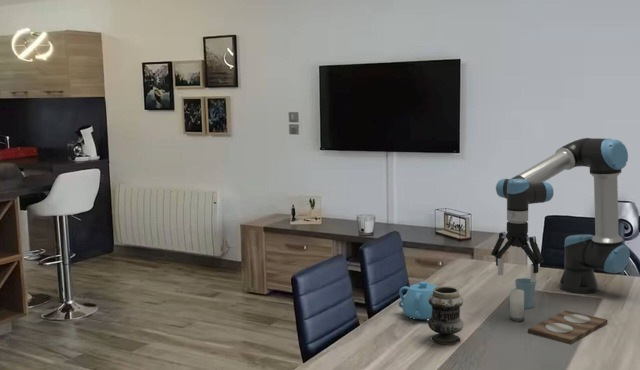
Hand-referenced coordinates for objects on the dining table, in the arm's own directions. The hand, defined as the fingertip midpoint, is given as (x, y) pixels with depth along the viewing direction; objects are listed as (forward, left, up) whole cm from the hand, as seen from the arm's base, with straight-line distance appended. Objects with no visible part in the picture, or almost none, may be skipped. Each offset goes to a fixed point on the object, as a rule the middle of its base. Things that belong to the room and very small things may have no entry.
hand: (516, 278), depth 243 cm
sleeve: (0, 0, -16) cm, 16 cm away
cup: (-16, -6, -16) cm, 24 cm away
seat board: (-4, +18, -16) cm, 24 cm away
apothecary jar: (+34, -7, -16) cm, 38 cm away
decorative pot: (+20, -28, -16) cm, 38 cm away
